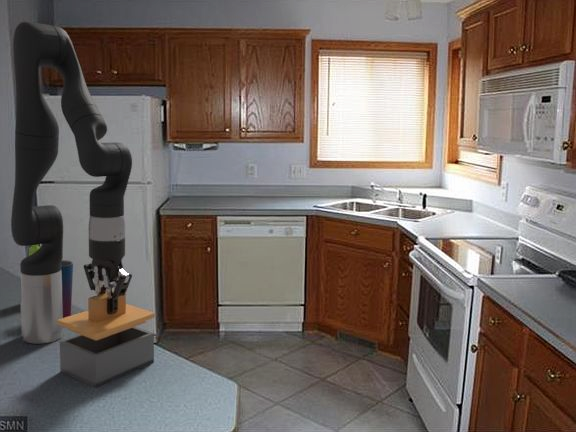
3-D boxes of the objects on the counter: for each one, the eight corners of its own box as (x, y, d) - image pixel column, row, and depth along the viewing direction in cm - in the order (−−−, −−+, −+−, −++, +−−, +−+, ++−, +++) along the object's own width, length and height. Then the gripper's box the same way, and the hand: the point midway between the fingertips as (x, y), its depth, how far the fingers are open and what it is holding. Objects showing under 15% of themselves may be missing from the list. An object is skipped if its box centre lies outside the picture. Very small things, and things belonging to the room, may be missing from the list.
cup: (65, 321, 152) (63, 267, 150) (42, 318, 154) (41, 265, 151) (79, 312, 159) (78, 261, 156) (57, 310, 160) (56, 259, 158)
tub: (60, 371, 123) (59, 341, 122) (119, 348, 136) (118, 321, 135) (95, 387, 116) (95, 355, 115) (153, 362, 130) (153, 333, 128)
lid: (57, 329, 121) (56, 297, 120) (118, 309, 135) (118, 281, 134) (94, 344, 115) (94, 311, 113) (154, 322, 128) (155, 292, 127)
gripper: (71, 233, 122) (73, 309, 125) (114, 243, 114) (114, 324, 117) (100, 228, 128) (100, 300, 131) (142, 238, 120) (142, 314, 124)
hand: (107, 311), depth 124 cm, fingers closed on lid, 2 cm apart
